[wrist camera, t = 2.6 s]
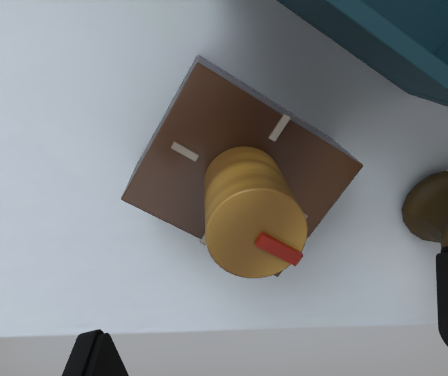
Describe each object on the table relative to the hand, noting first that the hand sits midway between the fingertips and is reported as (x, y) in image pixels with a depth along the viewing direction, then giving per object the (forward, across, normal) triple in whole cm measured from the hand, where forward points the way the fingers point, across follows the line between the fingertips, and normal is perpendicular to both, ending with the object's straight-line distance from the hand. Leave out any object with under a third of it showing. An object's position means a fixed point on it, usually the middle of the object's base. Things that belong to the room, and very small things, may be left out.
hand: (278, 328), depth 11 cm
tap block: (+15, 0, 0) cm, 15 cm away
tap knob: (+10, 0, 0) cm, 10 cm away
